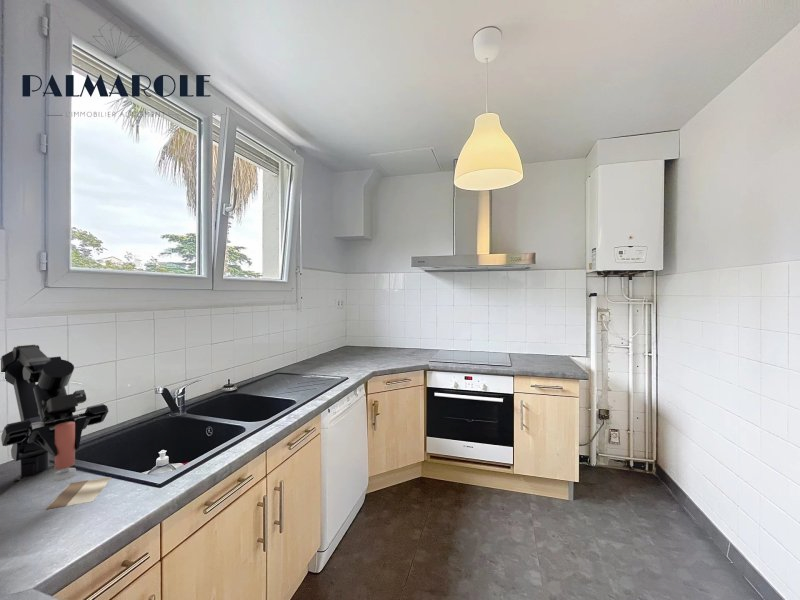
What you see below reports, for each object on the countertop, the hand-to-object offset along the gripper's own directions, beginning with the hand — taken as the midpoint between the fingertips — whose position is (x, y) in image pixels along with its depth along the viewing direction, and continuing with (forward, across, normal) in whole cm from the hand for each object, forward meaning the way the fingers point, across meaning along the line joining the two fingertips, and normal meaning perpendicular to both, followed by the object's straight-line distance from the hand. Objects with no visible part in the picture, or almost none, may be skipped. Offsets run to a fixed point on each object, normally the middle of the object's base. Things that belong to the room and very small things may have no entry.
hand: (66, 452), depth 84 cm
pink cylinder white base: (+4, 0, +6) cm, 7 cm away
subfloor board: (+8, +3, +11) cm, 14 cm away
